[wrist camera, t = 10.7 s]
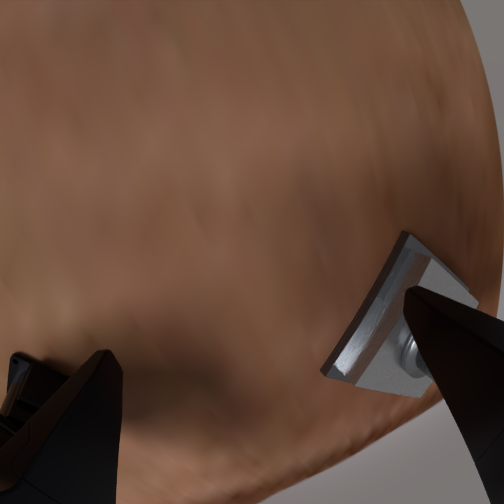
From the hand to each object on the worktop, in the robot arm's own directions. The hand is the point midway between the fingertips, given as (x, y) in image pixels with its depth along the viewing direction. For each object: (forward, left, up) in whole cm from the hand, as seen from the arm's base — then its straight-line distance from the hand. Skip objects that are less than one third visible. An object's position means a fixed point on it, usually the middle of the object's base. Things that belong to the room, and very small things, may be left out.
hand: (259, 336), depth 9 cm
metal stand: (+1, -22, -12) cm, 25 cm away
